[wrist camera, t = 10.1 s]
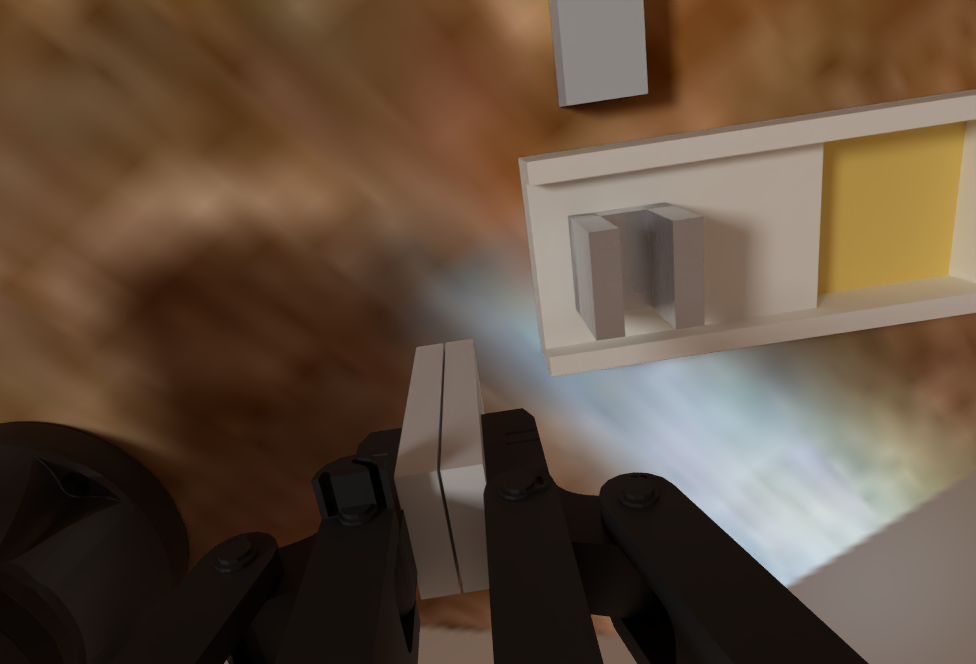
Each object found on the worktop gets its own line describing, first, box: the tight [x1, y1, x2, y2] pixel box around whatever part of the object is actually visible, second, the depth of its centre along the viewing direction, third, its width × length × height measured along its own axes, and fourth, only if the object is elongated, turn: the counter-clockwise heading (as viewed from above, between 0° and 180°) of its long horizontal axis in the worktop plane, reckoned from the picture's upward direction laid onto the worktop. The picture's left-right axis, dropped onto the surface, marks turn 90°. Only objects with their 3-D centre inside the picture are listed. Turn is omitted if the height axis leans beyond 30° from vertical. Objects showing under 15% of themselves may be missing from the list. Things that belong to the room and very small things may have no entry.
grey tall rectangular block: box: [549, 0, 648, 107], centre depth 26 cm, size 4×8×2 cm, turn 8°
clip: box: [568, 202, 705, 341], centre depth 26 cm, size 4×4×4 cm
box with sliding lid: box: [518, 89, 976, 377], centre depth 29 cm, size 22×10×4 cm, turn 98°
